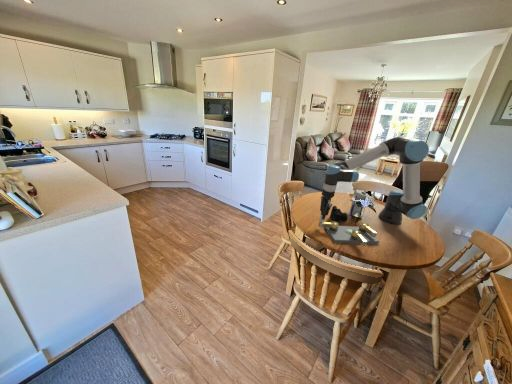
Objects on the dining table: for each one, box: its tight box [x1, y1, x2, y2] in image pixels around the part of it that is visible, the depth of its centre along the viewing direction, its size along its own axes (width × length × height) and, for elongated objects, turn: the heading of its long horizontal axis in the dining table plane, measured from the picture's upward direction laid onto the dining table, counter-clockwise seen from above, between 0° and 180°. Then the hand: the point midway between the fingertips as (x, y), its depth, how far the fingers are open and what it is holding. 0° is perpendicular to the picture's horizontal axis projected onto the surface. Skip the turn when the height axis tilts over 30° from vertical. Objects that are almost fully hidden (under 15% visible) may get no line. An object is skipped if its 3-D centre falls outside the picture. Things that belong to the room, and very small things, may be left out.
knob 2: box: [358, 222, 378, 238], centre depth 133 cm, size 12×5×4 cm, turn 12°
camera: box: [329, 205, 349, 224], centre depth 148 cm, size 14×11×10 cm
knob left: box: [351, 229, 368, 247], centre depth 124 cm, size 12×5×4 cm, turn 3°
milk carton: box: [349, 189, 367, 217], centre depth 157 cm, size 7×7×20 cm
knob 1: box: [318, 220, 340, 231], centre depth 134 cm, size 12×5×4 cm, turn 93°
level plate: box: [324, 225, 380, 245], centre depth 133 cm, size 28×16×3 cm, turn 93°
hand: (321, 222), depth 138 cm, fingers closed
